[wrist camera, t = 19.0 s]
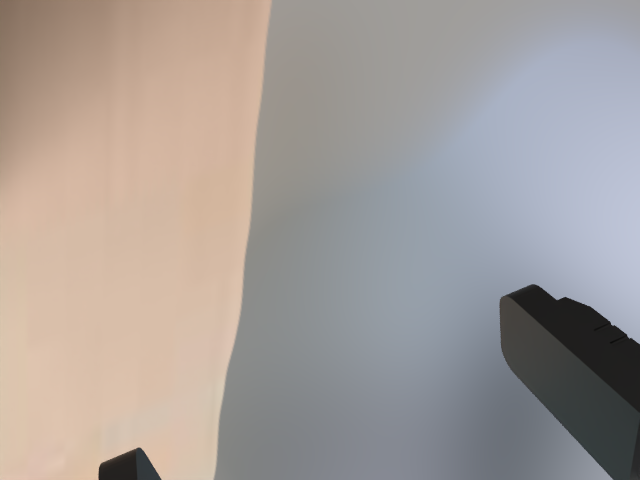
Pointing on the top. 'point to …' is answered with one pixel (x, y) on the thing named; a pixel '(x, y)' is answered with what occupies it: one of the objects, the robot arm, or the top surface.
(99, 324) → the top surface
